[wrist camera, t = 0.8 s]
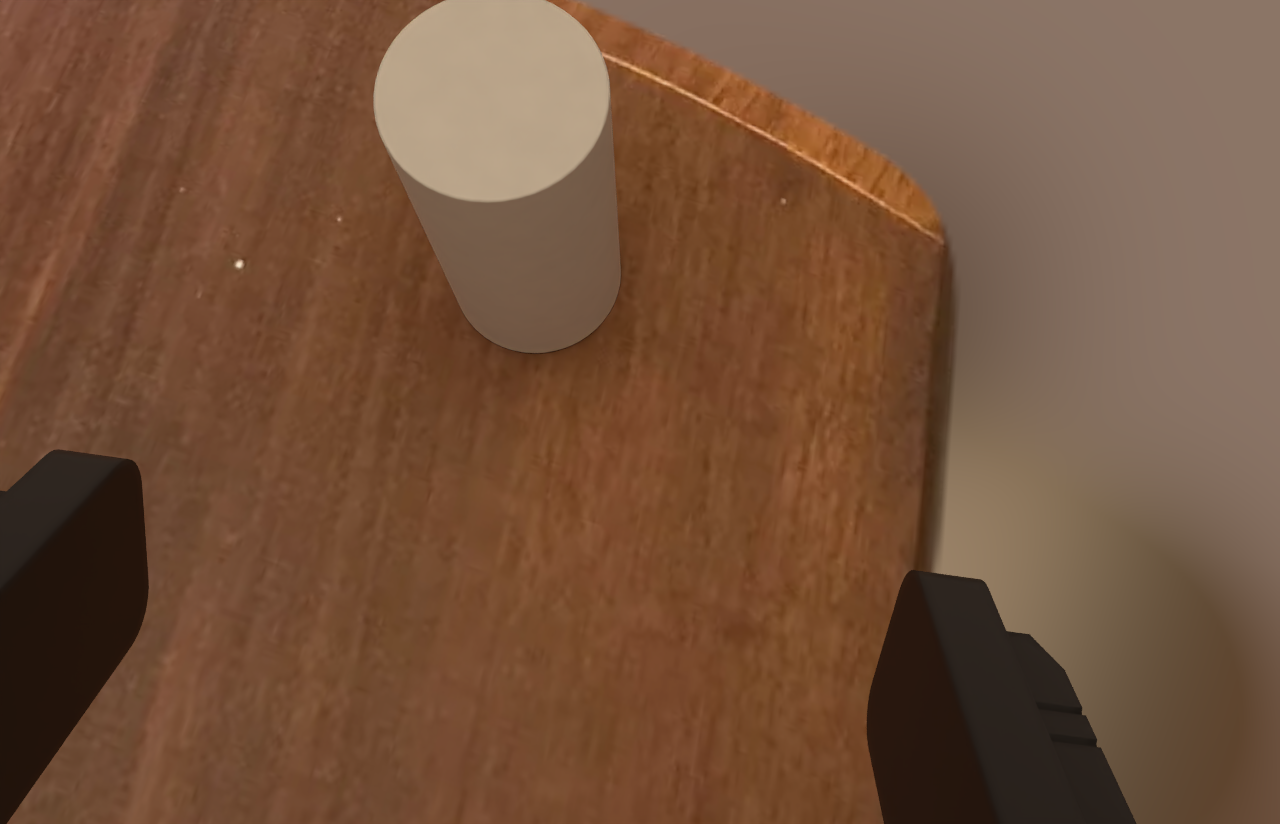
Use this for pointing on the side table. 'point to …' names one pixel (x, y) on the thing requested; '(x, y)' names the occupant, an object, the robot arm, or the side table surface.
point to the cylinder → (508, 164)
